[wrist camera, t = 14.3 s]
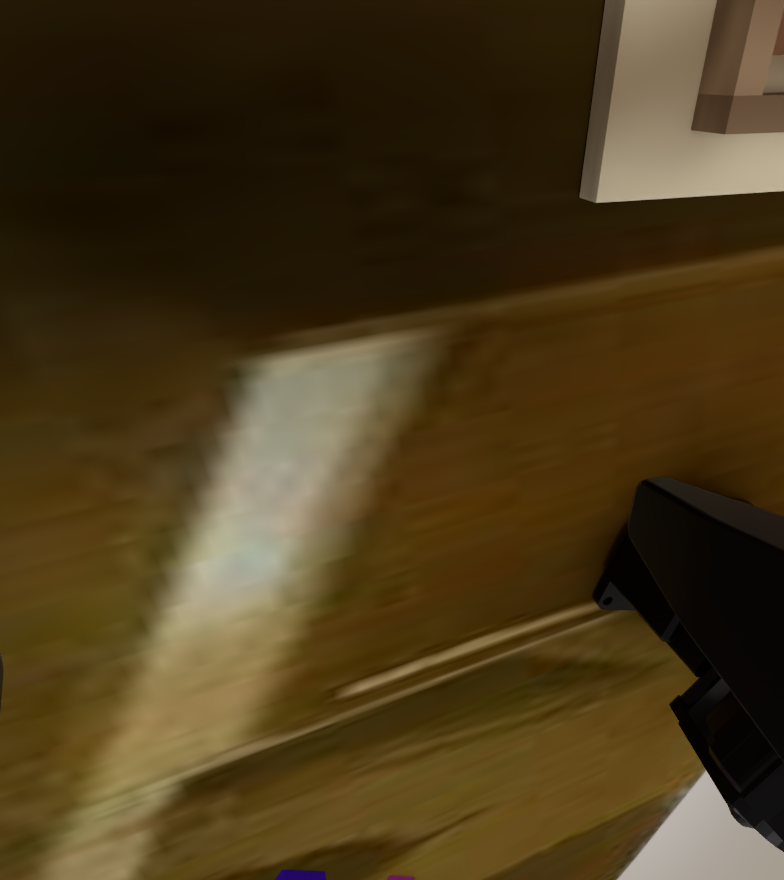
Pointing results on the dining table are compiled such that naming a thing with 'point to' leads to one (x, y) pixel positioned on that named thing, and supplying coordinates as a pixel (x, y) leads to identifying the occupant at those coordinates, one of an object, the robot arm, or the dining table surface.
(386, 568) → the dining table surface
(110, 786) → the dining table surface
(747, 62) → the board
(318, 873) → the building block set
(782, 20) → the pillar
